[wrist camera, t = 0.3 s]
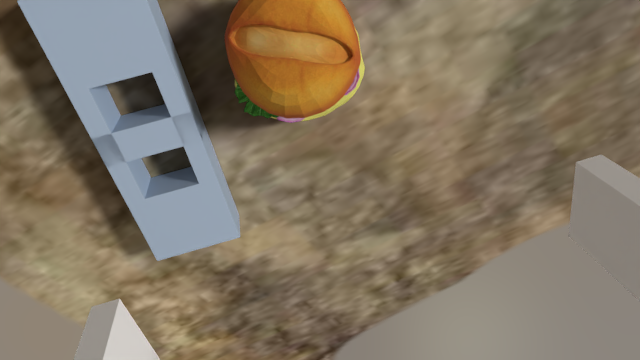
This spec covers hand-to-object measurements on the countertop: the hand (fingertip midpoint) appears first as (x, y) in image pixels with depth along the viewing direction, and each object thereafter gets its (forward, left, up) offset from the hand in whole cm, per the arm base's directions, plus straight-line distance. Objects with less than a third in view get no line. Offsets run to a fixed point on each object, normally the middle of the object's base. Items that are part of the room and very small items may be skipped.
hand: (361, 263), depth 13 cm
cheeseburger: (+1, +1, -27) cm, 27 cm away
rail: (+4, -11, -27) cm, 29 cm away
